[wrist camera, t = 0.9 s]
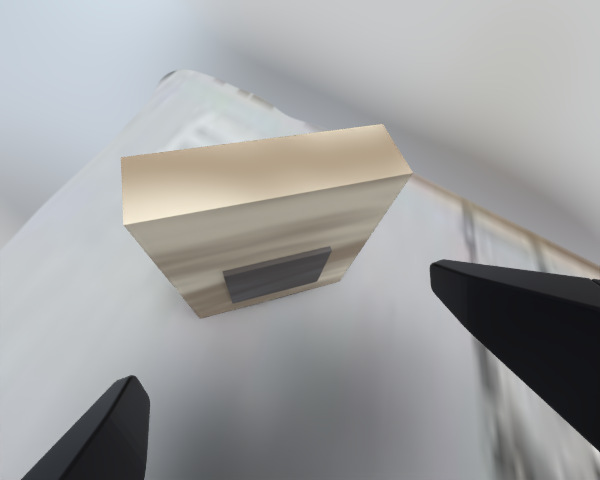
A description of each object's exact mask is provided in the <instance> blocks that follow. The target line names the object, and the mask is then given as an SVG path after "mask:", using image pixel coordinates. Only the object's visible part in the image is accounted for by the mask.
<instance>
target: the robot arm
mask: <svg viewBox="0 0 600 480" xmlns="http://www.w3.org/2000/svg"><path fill="white" fill-rule="evenodd" d="M430 280H431V288H432V290H433V292H434V293H435V295H436V296H437V297H438V298H439V299H440V300H441V301H442V302H443V304H444V305H445V306H446V307H447V308H448V309H449V310H450V311H451V313H452V314H453V315H454V316H455V317H456V318H457V319H458V320H459V321H460V323H461V324H462V325H463V326H464V327H465V328H466V329H467V330H468V331H469V332H470V333H471V334H472V335H473V336H474V337H475V338H476V339H478V340H479V341H480V342H481V343H482V344H483V345H484V346H485V347H486V348H487V349H488V350H489V351H491V352H492V353H493V354H494V355H495V356H496V357H497V358H498V359H499V360H500V361H501V362H503V363H504V364H505V365H506V366H507V367H508V368H509V369H510V370H511V371H512V372H513V373H514V374H516V375H517V376H518V377H519V378H520V379H521V380H522V381H523V382H524V383H525V384H526V385H528V386H529V387H530V388H531V389H532V390H533V391H534V392H535V393H536V394H537V395H538V396H539V397H541V398H542V399H543V400H544V401H545V402H546V403H547V404H548V405H549V406H550V407H551V408H552V409H554V410H555V411H556V412H557V413H558V414H559V415H560V416H561V417H562V418H563V419H564V420H566V421H567V422H568V423H569V424H570V425H571V426H572V427H573V428H574V429H575V430H576V431H577V432H579V433H580V434H581V435H582V436H583V437H584V438H585V439H586V440H587V441H588V442H589V443H591V444H592V445H593V446H594V447H595V448H596V449H597V450H598V451H599V452H600V280H598V279H592V280H591V279H589V278H582V277H574V276H567V275H559V274H551V273H544V272H536V271H528V270H521V269H513V268H505V267H498V266H490V265H482V264H475V263H467V262H460V261H452V260H439V261H437V262H434V263H432V264H431V265H430ZM149 414H150V400H149V396H148V394H147V393H146V391H145V390H144V388H143V386H142V385H141V383H140V382H139V380H138V379H137V377H136V376H133V375H130V376H128V377H125V378H122V379H120V380H117V381H116V382H115V383H114V384H113V385H112V386H111V387H110V388H109V389H108V390H107V391H106V392H105V393H104V394H103V395H102V396H101V397H100V398H99V399H98V400H97V401H96V402H95V403H94V404H93V405H92V406H91V407H90V409H89V410H88V411H87V412H86V413H85V414H84V415H83V416H82V417H81V418H80V419H79V420H78V421H77V422H76V423H75V424H74V425H73V426H72V427H71V428H70V429H69V430H68V431H67V432H66V433H65V434H64V435H63V437H62V438H61V439H60V440H59V441H58V442H57V443H56V444H55V445H54V446H53V447H52V448H51V449H50V450H49V451H48V452H47V453H46V454H45V455H44V456H43V457H42V458H41V459H40V460H39V461H38V462H37V463H36V465H35V466H34V467H33V468H32V469H31V470H30V471H29V472H28V473H27V474H26V475H25V476H24V477H23V478H22V479H21V480H144V477H145V470H146V461H147V447H148V431H149Z"/></svg>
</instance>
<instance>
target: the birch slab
mask: <svg viewBox="0 0 600 480" xmlns="http://www.w3.org/2000/svg"><path fill="white" fill-rule="evenodd" d="M121 171H122V197H123V223H124V226H125V227H126V229H127V230H128V231H129V232H130V234H131V235H132V236H133V237H134V238H135V240H136V241H137V242H138V243H139V245H140V246H141V247H142V248H143V249H144V251H145V252H146V253H147V254H148V255H149V257H150V258H151V259H152V260H153V262H154V263H155V264H156V265H157V266H158V268H159V269H160V270H161V271H162V273H163V274H164V275H165V276H166V277H167V279H168V280H169V281H170V282H171V284H172V285H173V286H174V287H175V288H176V290H177V291H178V292H179V293H180V295H181V296H182V297H183V298H184V299H185V301H186V302H187V303H188V304H189V305H190V307H191V308H192V309H193V310H194V312H195V313H196V314H197V315H198V316H199V318H200V319H201V318H205V317H209V316H212V315H216V314H220V313H223V312H227V311H231V310H235V309H238V308H242V307H246V306H250V305H253V304H257V303H261V302H265V301H268V300H272V299H276V298H279V297H283V296H287V295H291V294H294V293H298V292H302V291H306V290H309V289H313V288H317V287H320V286H324V285H328V284H332V283H335V282H339V281H340V280H341V278H342V277H343V275H344V274H345V272H346V271H347V269H348V268H349V267H350V265H351V264H352V262H353V261H354V259H355V258H356V256H357V255H358V253H359V252H360V250H361V249H362V247H363V246H364V244H365V243H366V241H367V240H368V239H369V237H370V236H371V234H372V233H373V231H374V230H375V228H376V227H377V225H378V224H379V222H380V221H381V219H382V218H383V216H384V215H385V213H386V212H387V211H388V209H389V208H390V206H391V205H392V203H393V202H394V200H395V199H396V197H397V196H398V194H399V193H400V191H401V190H402V188H403V187H404V185H405V184H406V183H407V181H408V180H409V178H410V177H411V175H412V174H413V172H412V171H411V169H410V167H409V166H408V164H407V163H406V161H405V159H404V158H403V156H402V155H401V153H400V151H399V150H398V148H397V146H396V145H395V143H394V142H393V140H392V138H391V137H390V135H389V134H388V132H387V130H386V129H385V127H384V126H383V124H379V125H371V126H364V127H356V128H348V129H341V130H332V131H324V132H317V133H309V134H301V135H293V136H285V137H278V138H270V139H262V140H254V141H246V142H238V143H231V144H223V145H215V146H207V147H199V148H191V149H184V150H176V151H168V152H160V153H152V154H144V155H137V156H129V157H121Z"/></svg>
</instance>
